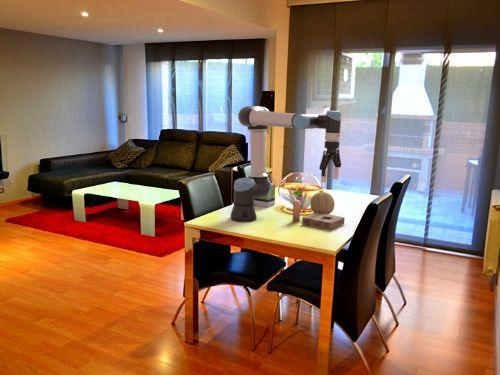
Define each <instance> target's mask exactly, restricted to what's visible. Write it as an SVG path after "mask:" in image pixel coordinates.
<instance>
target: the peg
mask: <svg viewBox="0 0 500 375" xmlns="http://www.w3.org/2000/svg"><path fill="white" fill-rule="evenodd" d="M292 202H293V203H292V222H293V223H299V222H300V220H301V219H300V216H301V215H300V214H301V201H300V200H298V199H297V200H296V199H294V200H292Z"/></svg>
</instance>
